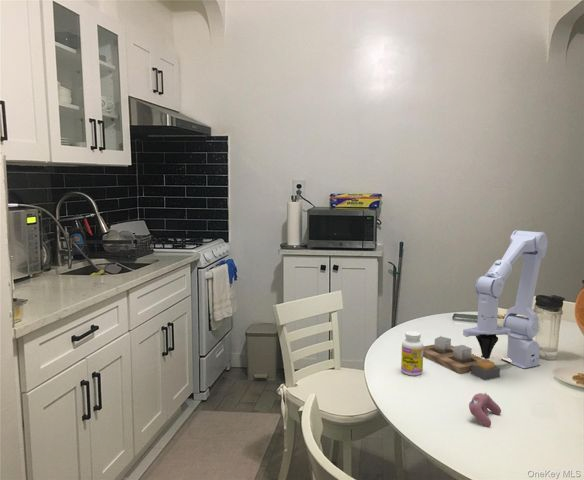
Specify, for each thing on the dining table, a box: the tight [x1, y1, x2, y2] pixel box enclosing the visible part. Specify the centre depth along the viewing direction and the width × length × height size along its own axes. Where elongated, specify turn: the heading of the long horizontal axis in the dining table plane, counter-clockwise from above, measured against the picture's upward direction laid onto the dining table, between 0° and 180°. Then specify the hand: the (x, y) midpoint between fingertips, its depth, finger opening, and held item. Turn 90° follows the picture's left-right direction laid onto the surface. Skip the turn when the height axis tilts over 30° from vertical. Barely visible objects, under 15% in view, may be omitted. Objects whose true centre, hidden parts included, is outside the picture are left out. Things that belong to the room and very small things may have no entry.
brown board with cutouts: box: [423, 343, 484, 375], centre depth 173 cm, size 22×13×2 cm, turn 25°
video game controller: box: [468, 392, 502, 428], centre depth 131 cm, size 10×5×7 cm, turn 142°
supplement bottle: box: [400, 330, 424, 377], centre depth 161 cm, size 7×7×13 cm
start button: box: [477, 358, 495, 369], centre depth 159 cm, size 4×4×3 cm
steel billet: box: [433, 335, 452, 354], centre depth 177 cm, size 4×4×6 cm
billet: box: [453, 344, 473, 364], centre depth 168 cm, size 4×4×6 cm
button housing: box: [470, 363, 501, 381], centre depth 159 cm, size 6×6×3 cm
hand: (485, 357), depth 158 cm, fingers closed
